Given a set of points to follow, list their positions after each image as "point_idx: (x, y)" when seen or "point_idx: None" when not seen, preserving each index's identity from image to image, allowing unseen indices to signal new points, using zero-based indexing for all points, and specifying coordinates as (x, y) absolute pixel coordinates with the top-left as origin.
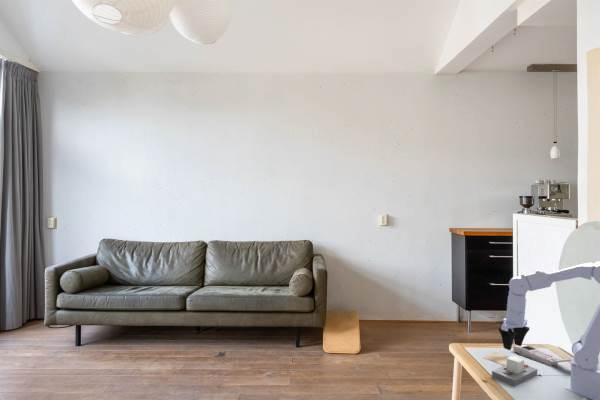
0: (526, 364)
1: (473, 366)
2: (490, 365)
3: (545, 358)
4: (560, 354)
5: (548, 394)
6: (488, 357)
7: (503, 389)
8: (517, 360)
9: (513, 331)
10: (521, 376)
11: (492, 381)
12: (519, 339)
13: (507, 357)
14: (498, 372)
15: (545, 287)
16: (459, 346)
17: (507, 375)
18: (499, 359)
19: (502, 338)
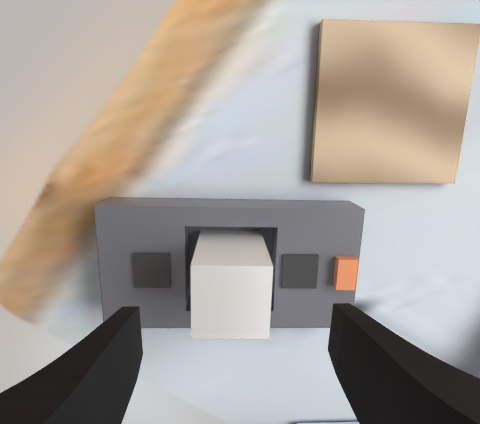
0: (347, 284)
1: (153, 51)
2: (260, 106)
3: None
4: None
5: (189, 403)
6: (350, 42)
7: (49, 288)
8: (221, 321)
9: (412, 376)
10: (180, 324)
11: (76, 218)
12: (358, 386)
13: (448, 117)
14: (112, 235)
15: None
16: None
17: (122, 281)
18: (375, 103)
19: (46, 371)
